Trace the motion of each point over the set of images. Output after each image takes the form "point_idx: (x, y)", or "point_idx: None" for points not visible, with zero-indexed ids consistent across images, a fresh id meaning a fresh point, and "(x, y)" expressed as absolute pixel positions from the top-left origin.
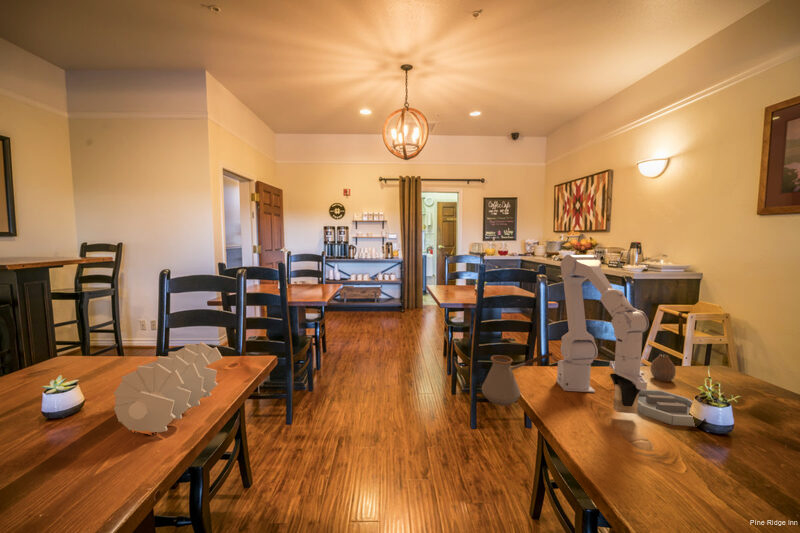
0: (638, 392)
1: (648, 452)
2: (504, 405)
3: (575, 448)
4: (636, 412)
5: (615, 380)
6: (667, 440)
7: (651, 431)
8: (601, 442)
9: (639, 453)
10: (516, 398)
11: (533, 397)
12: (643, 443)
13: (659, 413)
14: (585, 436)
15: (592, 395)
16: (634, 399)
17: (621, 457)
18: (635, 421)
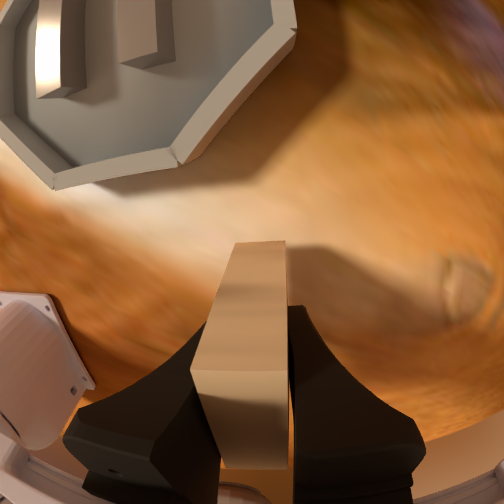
0: (359, 383)
1: (498, 293)
2: (259, 491)
3: (438, 429)
4: (284, 246)
5: (215, 490)
6: (452, 174)
7: (388, 203)
8: (434, 391)
9: (495, 319)
10: (259, 502)
11: None
12: (464, 286)
13: (247, 86)
14: None
15: (77, 313)
16: (318, 337)
17: (491, 363)
18: (294, 234)
